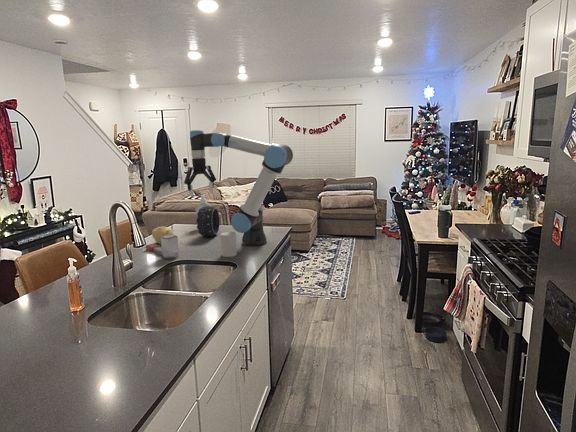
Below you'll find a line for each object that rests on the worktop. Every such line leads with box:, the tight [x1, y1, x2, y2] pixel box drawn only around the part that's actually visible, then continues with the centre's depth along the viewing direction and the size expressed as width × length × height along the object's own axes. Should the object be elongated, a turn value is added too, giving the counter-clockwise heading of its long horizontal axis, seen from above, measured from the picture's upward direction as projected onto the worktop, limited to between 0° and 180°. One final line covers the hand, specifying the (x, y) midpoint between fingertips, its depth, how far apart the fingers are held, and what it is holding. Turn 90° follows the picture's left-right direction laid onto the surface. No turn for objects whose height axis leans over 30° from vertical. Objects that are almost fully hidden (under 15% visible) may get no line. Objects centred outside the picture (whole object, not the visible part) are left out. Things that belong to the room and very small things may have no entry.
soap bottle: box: [195, 194, 212, 217], centre depth 281 cm, size 13×8×24 cm, turn 83°
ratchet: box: [145, 243, 179, 260], centre depth 220 cm, size 30×8×8 cm, turn 45°
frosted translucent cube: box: [160, 233, 180, 254], centre depth 212 cm, size 7×7×9 cm
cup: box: [220, 231, 238, 258], centre depth 212 cm, size 8×8×12 cm
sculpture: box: [151, 225, 174, 245], centre depth 245 cm, size 11×12×11 cm
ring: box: [195, 205, 221, 237], centre depth 257 cm, size 11×20×20 cm, turn 174°
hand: (201, 194), depth 225 cm, fingers open, 13 cm apart
